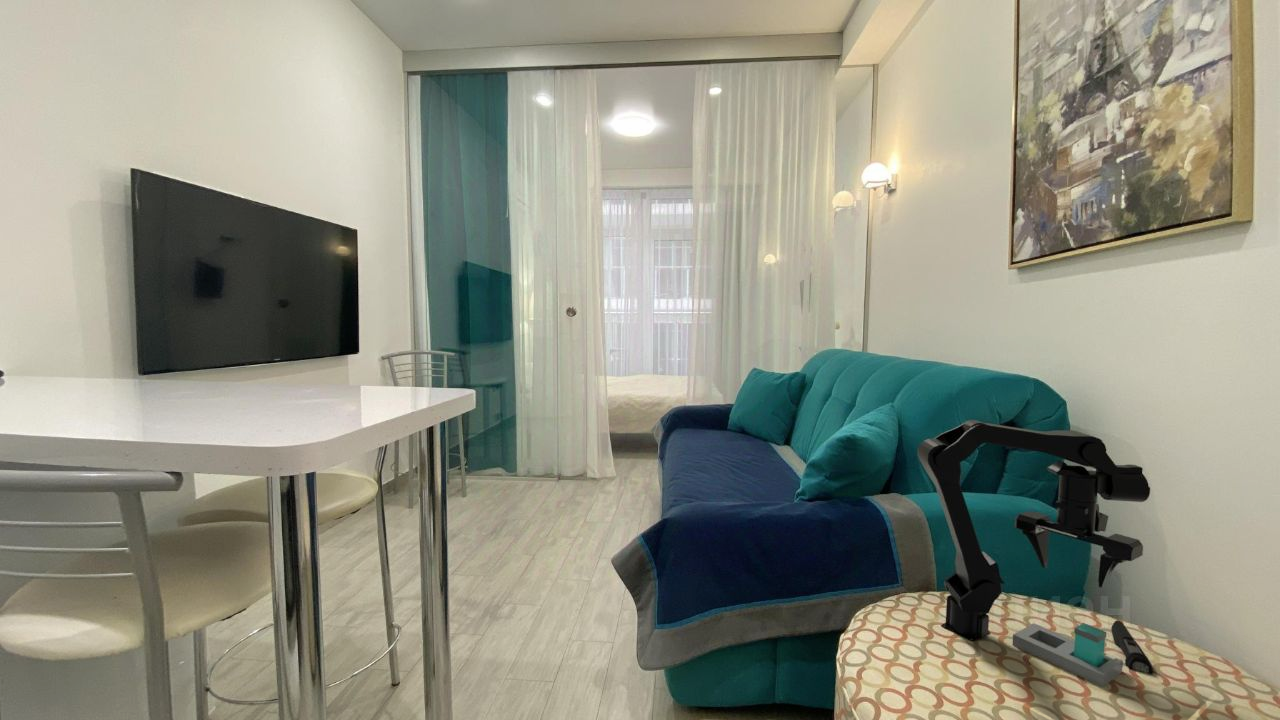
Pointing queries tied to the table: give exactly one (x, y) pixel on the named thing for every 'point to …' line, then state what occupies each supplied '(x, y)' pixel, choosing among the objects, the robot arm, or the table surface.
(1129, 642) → the electric trimmer
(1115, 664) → the grey flat block
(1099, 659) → the plug
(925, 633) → the table surface
